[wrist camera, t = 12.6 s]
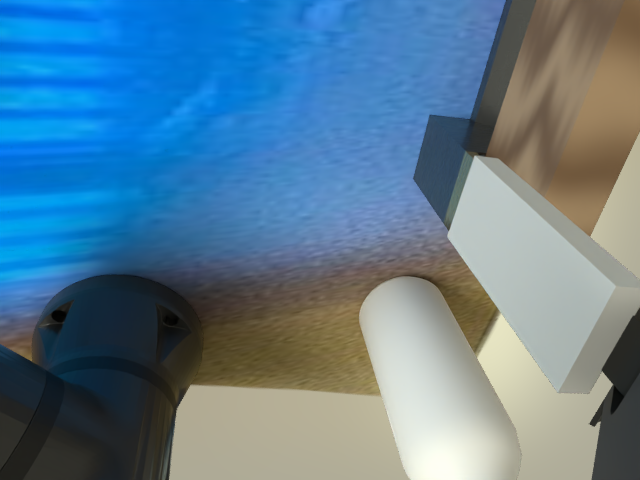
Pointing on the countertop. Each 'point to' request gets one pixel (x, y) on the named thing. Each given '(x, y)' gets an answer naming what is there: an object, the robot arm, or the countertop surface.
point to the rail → (573, 103)
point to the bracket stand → (471, 119)
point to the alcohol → (435, 387)
